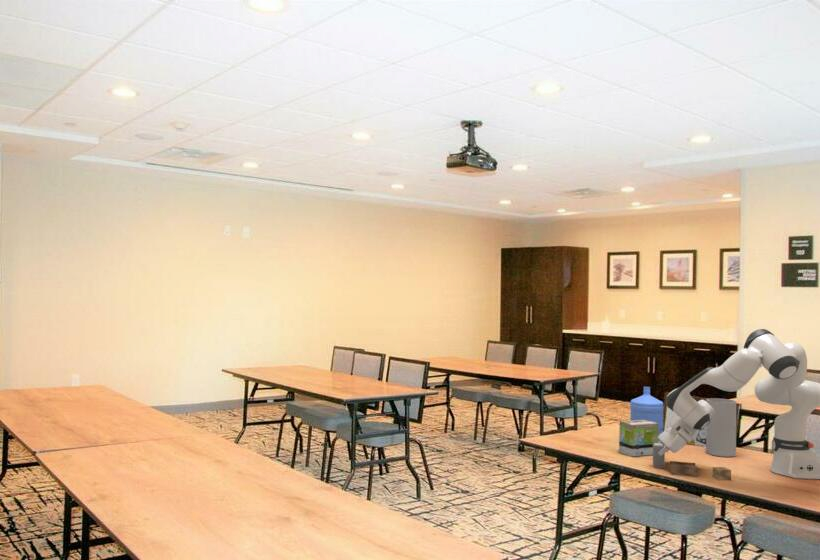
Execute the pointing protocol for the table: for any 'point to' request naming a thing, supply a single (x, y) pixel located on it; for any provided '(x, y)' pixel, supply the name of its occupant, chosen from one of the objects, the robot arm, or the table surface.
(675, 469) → the stand
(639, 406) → the water jug
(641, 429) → the tea box
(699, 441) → the hard drive box
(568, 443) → the table surface
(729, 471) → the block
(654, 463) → the block
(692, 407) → the robot arm
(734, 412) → the cylinder vase
